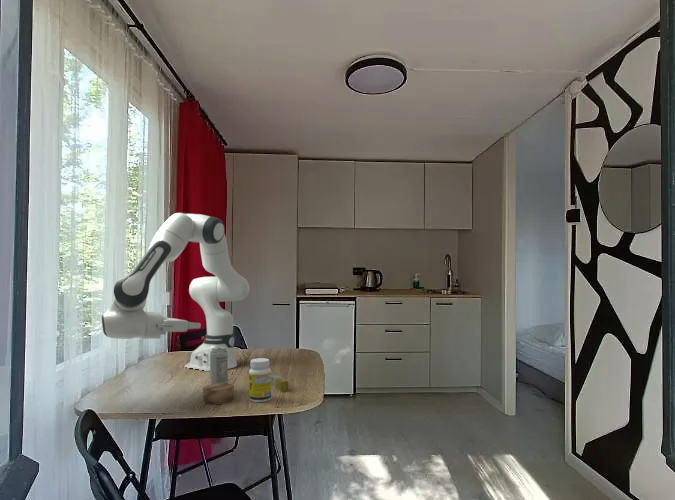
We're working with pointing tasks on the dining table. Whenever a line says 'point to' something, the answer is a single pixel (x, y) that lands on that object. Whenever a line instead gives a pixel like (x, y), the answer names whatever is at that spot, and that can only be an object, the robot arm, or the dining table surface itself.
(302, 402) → the dining table surface
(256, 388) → the supplement bottle
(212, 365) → the energy drink can
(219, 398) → the wooden bowl
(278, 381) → the medication box
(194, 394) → the dining table surface
